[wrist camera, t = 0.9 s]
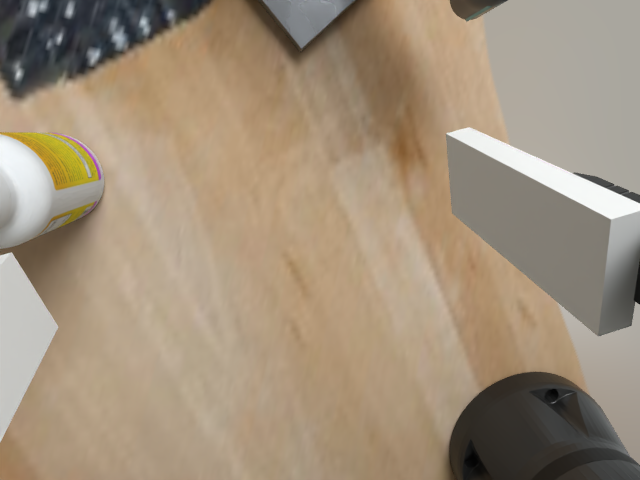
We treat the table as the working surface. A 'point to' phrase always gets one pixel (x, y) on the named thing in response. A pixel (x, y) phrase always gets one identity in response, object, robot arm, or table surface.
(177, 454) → the table surface
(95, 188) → the supplement bottle
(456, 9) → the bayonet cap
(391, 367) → the table surface
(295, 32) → the post base
